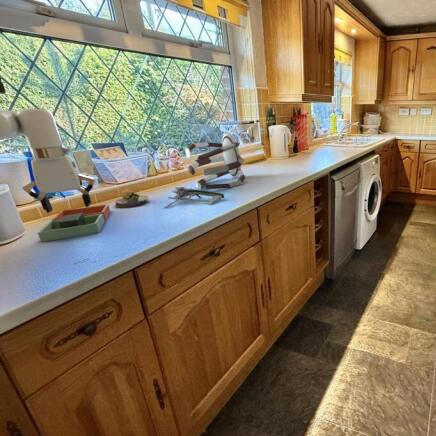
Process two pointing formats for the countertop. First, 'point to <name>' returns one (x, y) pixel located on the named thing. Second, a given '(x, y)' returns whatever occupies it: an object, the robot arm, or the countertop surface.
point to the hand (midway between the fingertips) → (69, 208)
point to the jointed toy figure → (229, 157)
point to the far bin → (85, 211)
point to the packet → (72, 220)
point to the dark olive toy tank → (130, 199)
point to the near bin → (71, 228)
